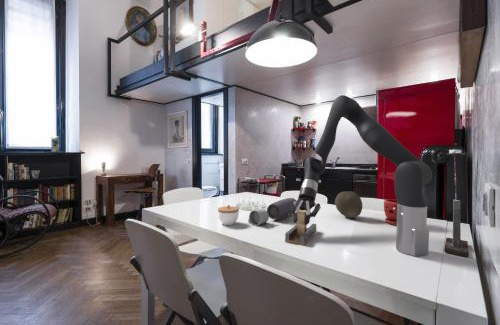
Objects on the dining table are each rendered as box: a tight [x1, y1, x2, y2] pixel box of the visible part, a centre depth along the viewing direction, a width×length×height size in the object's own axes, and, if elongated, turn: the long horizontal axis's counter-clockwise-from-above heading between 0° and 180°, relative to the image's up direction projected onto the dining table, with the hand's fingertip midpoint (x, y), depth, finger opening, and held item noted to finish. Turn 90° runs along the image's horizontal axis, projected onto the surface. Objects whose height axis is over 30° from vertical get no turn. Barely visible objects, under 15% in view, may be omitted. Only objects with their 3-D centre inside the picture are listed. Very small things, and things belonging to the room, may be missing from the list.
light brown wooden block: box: [296, 210, 307, 235], centre depth 107 cm, size 4×3×10 cm
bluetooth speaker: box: [266, 197, 298, 220], centre depth 140 cm, size 23×9×10 cm, turn 145°
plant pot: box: [383, 199, 397, 227], centre depth 127 cm, size 13×13×12 cm
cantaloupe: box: [334, 190, 363, 219], centre depth 139 cm, size 14×14×15 cm
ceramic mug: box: [247, 208, 270, 227], centre depth 127 cm, size 11×8×8 cm
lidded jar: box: [217, 205, 240, 226], centre depth 126 cm, size 11×11×9 cm
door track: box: [284, 223, 318, 246], centre depth 107 cm, size 20×8×4 cm, turn 152°
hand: (300, 223), depth 105 cm, fingers open, 4 cm apart
